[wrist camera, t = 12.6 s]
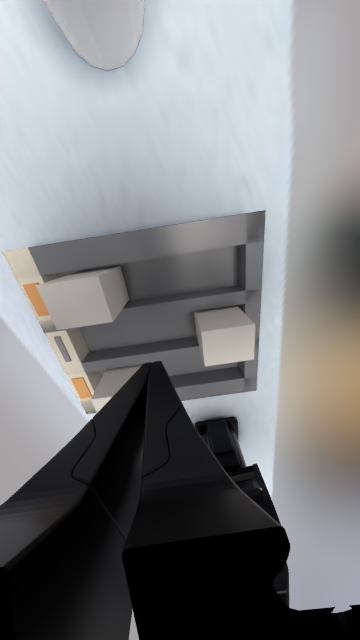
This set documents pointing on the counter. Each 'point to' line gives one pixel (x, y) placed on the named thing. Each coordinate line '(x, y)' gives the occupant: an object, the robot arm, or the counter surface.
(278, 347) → the counter surface
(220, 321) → the beige rectangular block
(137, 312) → the switch bank
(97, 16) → the white cup
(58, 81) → the counter surface
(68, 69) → the counter surface
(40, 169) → the counter surface
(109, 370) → the tab
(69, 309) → the cream rectangular block
